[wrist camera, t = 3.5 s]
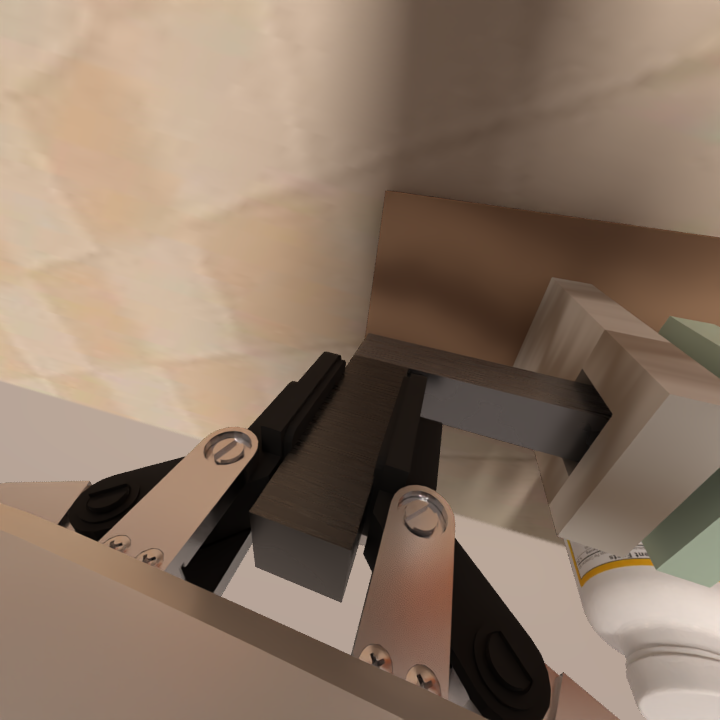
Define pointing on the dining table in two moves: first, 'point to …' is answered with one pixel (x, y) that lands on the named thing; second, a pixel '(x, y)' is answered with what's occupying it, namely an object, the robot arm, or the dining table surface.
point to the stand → (569, 340)
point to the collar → (710, 500)
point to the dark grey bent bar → (365, 436)
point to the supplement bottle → (654, 630)
